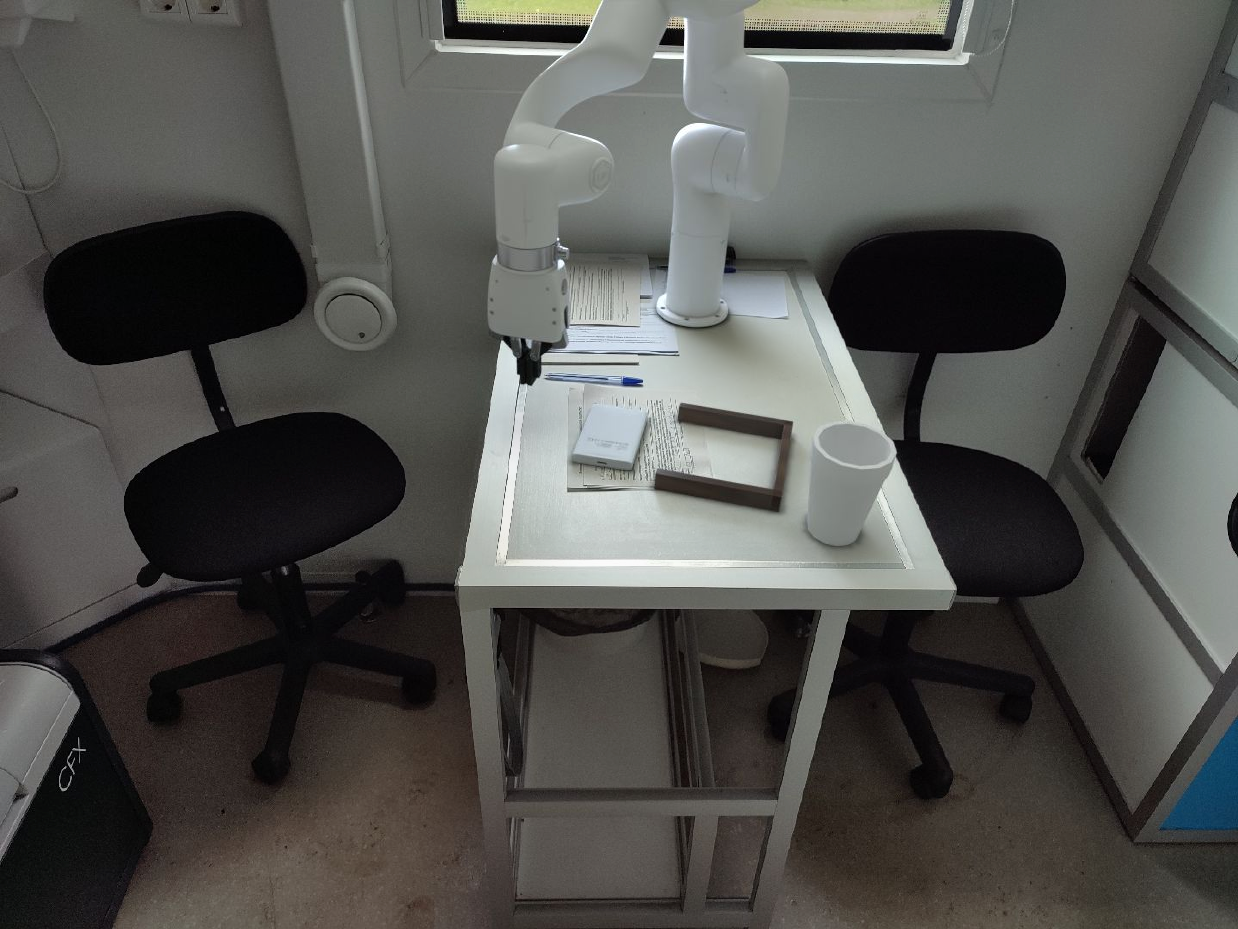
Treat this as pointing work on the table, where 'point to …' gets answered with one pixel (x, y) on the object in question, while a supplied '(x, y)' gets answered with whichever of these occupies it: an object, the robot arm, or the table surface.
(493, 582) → the table surface
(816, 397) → the table surface
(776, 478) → the dock
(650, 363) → the table surface
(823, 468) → the foam cup
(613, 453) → the hard drive
